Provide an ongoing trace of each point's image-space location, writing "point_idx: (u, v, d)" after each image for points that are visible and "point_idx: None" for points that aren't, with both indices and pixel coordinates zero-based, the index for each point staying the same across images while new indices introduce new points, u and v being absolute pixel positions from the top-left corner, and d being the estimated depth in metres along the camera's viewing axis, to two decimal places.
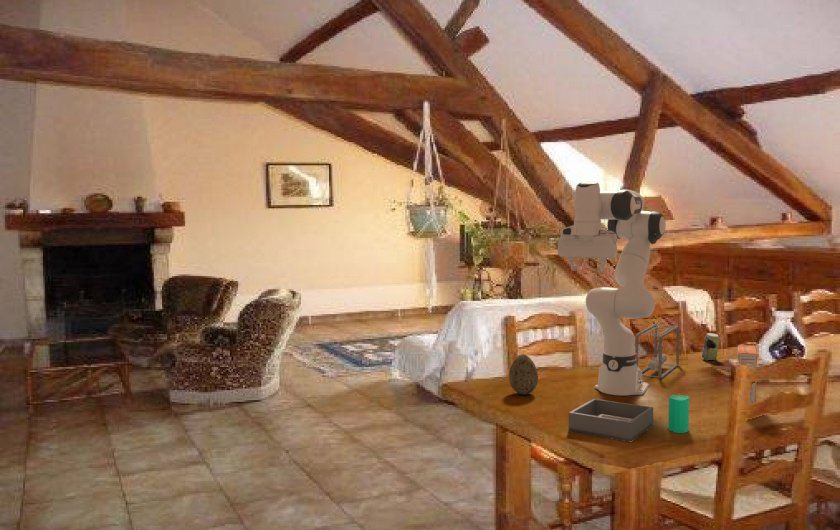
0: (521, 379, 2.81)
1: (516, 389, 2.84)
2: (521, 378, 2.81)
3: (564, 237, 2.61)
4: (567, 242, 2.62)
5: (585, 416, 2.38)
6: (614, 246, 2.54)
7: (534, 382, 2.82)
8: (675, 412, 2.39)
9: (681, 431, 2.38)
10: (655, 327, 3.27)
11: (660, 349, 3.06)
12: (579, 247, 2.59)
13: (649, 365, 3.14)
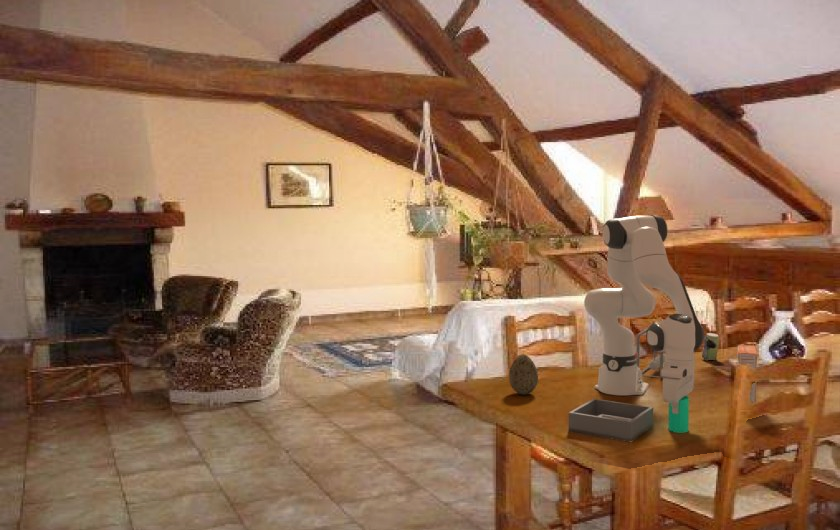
0: (521, 379, 2.81)
1: (516, 389, 2.84)
2: (521, 378, 2.81)
3: (681, 380, 2.33)
4: None
5: (585, 416, 2.38)
6: None
7: (534, 382, 2.82)
8: None
9: (681, 431, 2.38)
10: None
11: None
12: (683, 387, 2.38)
13: (650, 365, 3.14)
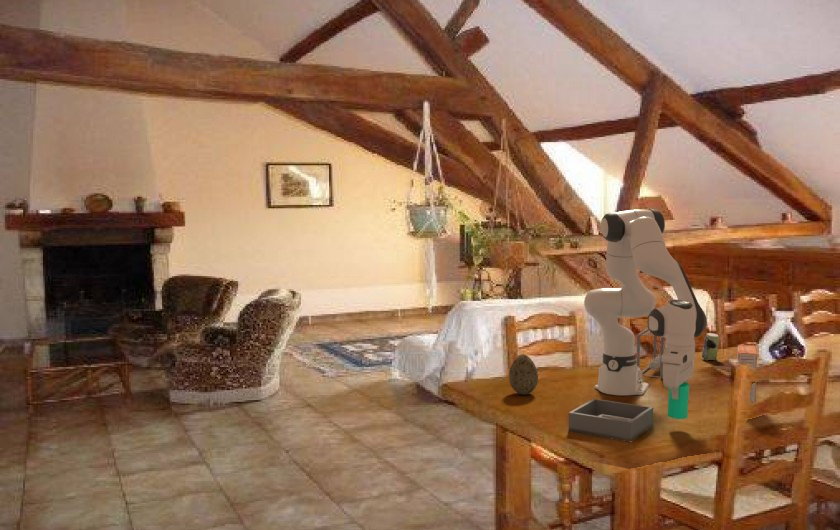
0: (521, 379, 2.81)
1: (516, 389, 2.84)
2: (521, 378, 2.81)
3: (681, 366, 2.32)
4: None
5: (585, 416, 2.38)
6: None
7: (534, 382, 2.82)
8: None
9: (680, 417, 2.39)
10: None
11: (662, 349, 3.06)
12: (683, 373, 2.37)
13: (650, 365, 3.14)
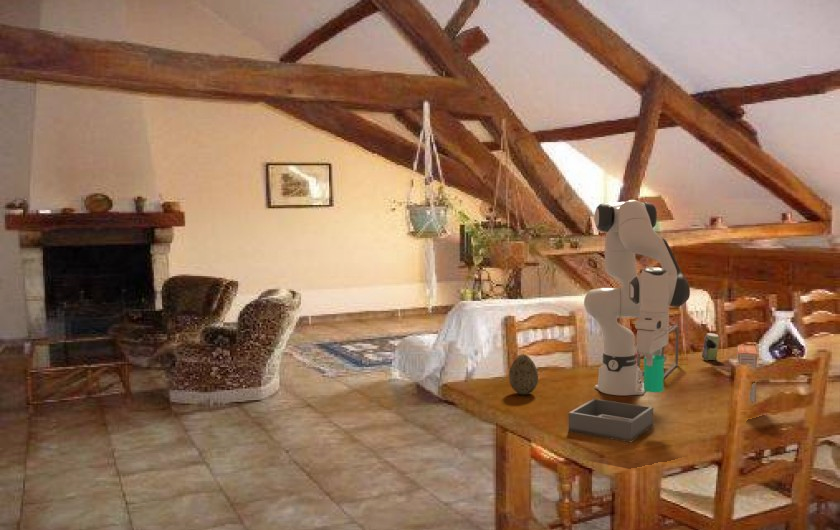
0: (521, 379, 2.81)
1: (516, 389, 2.84)
2: (521, 378, 2.81)
3: (655, 332, 2.32)
4: None
5: (585, 416, 2.38)
6: None
7: (534, 382, 2.82)
8: (652, 371, 2.38)
9: (658, 391, 2.38)
10: None
11: (662, 349, 3.06)
12: (657, 340, 2.37)
13: None
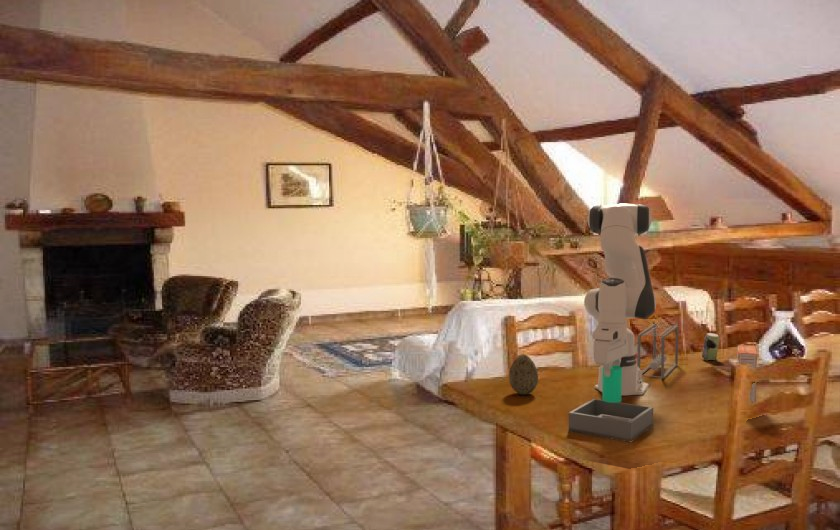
0: (521, 379, 2.81)
1: (516, 389, 2.84)
2: (521, 378, 2.81)
3: (611, 342, 2.34)
4: (608, 348, 2.35)
5: (585, 416, 2.38)
6: None
7: (534, 382, 2.82)
8: (609, 382, 2.39)
9: (616, 401, 2.40)
10: (655, 327, 3.27)
11: (663, 349, 3.06)
12: (615, 350, 2.39)
13: (651, 365, 3.14)
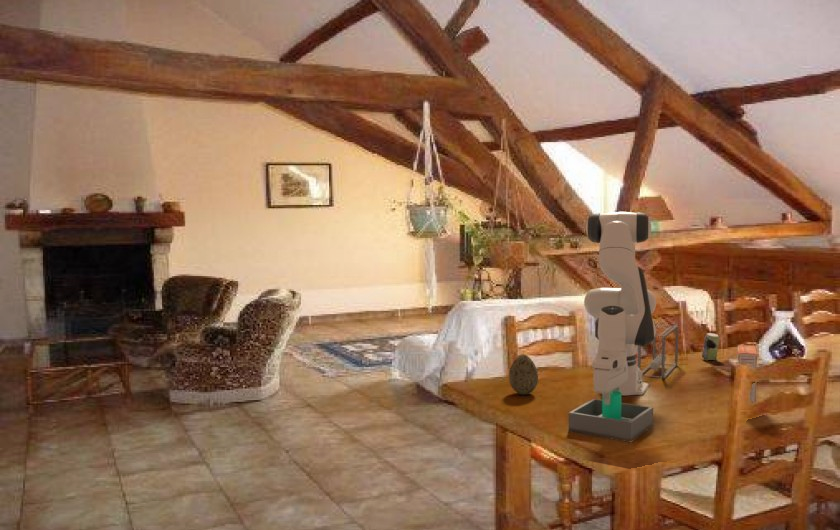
0: (521, 379, 2.81)
1: (516, 389, 2.84)
2: (521, 378, 2.81)
3: (611, 371, 2.35)
4: (608, 377, 2.36)
5: (585, 416, 2.38)
6: None
7: (534, 382, 2.82)
8: (609, 407, 2.40)
9: None
10: (655, 327, 3.27)
11: (663, 349, 3.06)
12: (614, 378, 2.39)
13: (651, 365, 3.14)
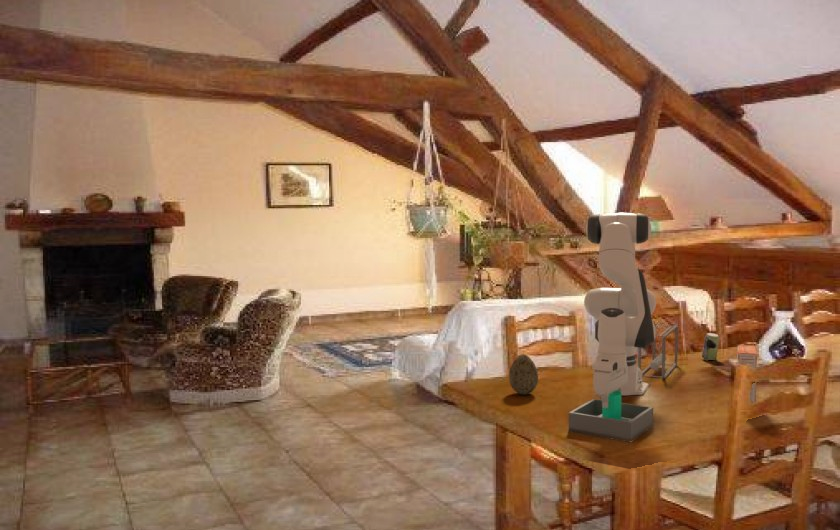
0: (522, 379, 2.81)
1: (516, 389, 2.84)
2: (521, 378, 2.81)
3: (611, 373, 2.35)
4: (608, 379, 2.36)
5: (585, 416, 2.38)
6: None
7: (534, 382, 2.82)
8: (609, 407, 2.40)
9: None
10: (655, 327, 3.27)
11: (664, 349, 3.06)
12: (614, 381, 2.40)
13: (651, 365, 3.14)
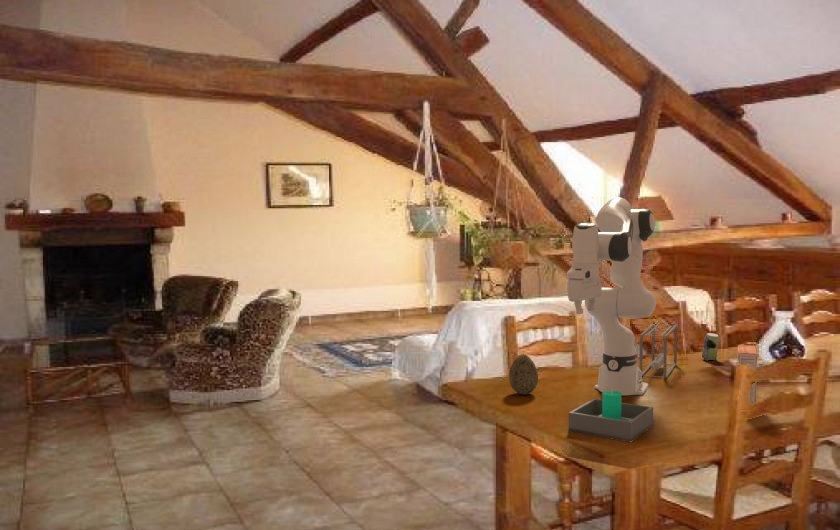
0: (522, 379, 2.81)
1: (516, 389, 2.84)
2: (521, 378, 2.81)
3: (584, 281, 2.52)
4: (581, 286, 2.54)
5: (585, 416, 2.38)
6: None
7: (534, 382, 2.82)
8: (609, 407, 2.40)
9: None
10: (654, 327, 3.27)
11: (665, 349, 3.06)
12: (588, 289, 2.57)
13: (652, 365, 3.14)
